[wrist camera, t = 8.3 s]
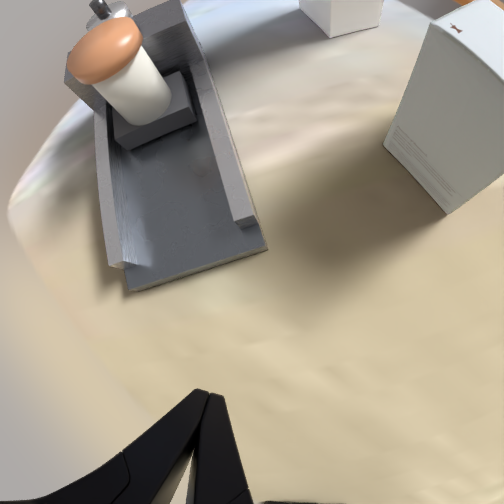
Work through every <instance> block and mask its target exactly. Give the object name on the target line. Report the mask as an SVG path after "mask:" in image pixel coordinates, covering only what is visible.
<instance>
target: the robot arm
mask: <svg viewBox="0 0 504 504" xmlns="http://www.w3.org/2000/svg"><path fill="white" fill-rule="evenodd" d="M193 450H194V451H193ZM192 453H193V456H192ZM191 456H192V461H191V468H190V475H189V483H188V491H187V498H186V504H254V503H253V500H252V497H251V493H250V490H249V489H248V484H247V480H246V477H245V473H244V470H243V466H242V463H241V459H240V456H239V452H238V448H237V445H236V441H235V437H234V433H233V430H232V426H231V422H230V418H229V414H228V410H227V406H226V402H225V398H224V396H222V395H219V394H215V393H210V394H209V392H208V391H205V390H201V389H198V388H197V389H194V390H193V391H192V392H191V393H190V394H189V395H188V396H186V397H185V398H184V399H183V400H182V401H181V402H179V403H178V404H177V405H176V406H175V407H174V408H173V409H171V410H170V411H169V412H168V413H167V414H166V415H164V416H163V417H162V418H161V419H160V420H158V421H157V422H156V423H155V424H154V425H153V426H151V427H150V428H149V429H148V430H147V431H145V432H144V433H143V434H142V435H141V436H139V437H138V438H137V439H136V440H134V441H133V442H132V443H131V444H129V445H128V446H127V447H126V448H124V449H123V450H122V452H119V453H118V454H117V455H115V456H114V457H113V458H112V459H110V460H109V461H108V462H106V463H105V464H103V465H102V466H101V467H99V468H98V469H96V470H94V471H93V472H91V473H89V474H88V475H86V476H84V477H82V478H80V479H78V480H77V481H75V482H73V483H71V484H69V485H67V486H65V487H63V488H61V489H59V490H57V491H55V492H53V493H51V494H49V495H47V496H44V497H41V498H37V499H31V500H20V501H0V504H170V502H171V500H172V498H173V495H174V493H175V491H176V489H177V487H178V485H179V483H180V481H181V478H182V476H183V474H184V472H185V470H186V468H187V466H188V463H189V461H190V459H191ZM264 504H316V503H286V502H273V501H268V502H266V503H264Z"/></svg>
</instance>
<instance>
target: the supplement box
mask: <svg viewBox="0 0 504 504" xmlns="http://www.w3.org/2000/svg"><path fill="white" fill-rule="evenodd" d="M383 146H384V147H385V148H386V149H387V150H388V151H389V152H390V153H391V154H392V155H393V156H394V157H395V158H396V159H397V160H398V161H399V162H400V163H401V164H402V165H403V166H404V167H405V168H406V169H407V170H408V171H409V172H410V174H411V175H412V176H413V177H414V178H415V179H416V180H417V181H418V182H419V183H420V184H421V186H422V187H423V188H424V189H425V190H426V191H427V192H428V193H429V195H430V196H431V197H432V198H433V199H434V200H435V201H436V203H437V204H438V205H439V206H440V207H441V208H442V209H443V210H444V212H445V213H446V214H450V213H452V212H453V211H455V210H456V209H458V208H459V207H460V206H462V205H463V204H465V203H466V202H467V201H469V200H470V199H471V198H473V197H474V196H475V195H477V194H478V193H479V192H481V191H482V190H483V189H485V188H486V187H487V186H489V185H490V184H491V183H492V182H494V181H495V180H496V179H497V178H499V177H500V176H501V175H503V174H504V11H503V10H502V9H501V8H499V7H498V6H497V5H495V4H494V3H493V2H491V1H490V0H475V1H473V2H471V3H469V4H467V5H465V6H462V7H460V8H458V9H456V10H455V11H452V12H451V13H449V14H447V15H445V16H443V17H441V18H439V19H437V20H435V21H432V22H431V23H430V25H429V27H428V30H427V33H426V36H425V39H424V42H423V44H422V47H421V50H420V53H419V56H418V58H417V61H416V64H415V66H414V69H413V72H412V74H411V77H410V80H409V82H408V85H407V87H406V90H405V92H404V95H403V97H402V100H401V102H400V105H399V107H398V110H397V112H396V115H395V117H394V119H393V122H392V124H391V126H390V129H389V131H388V133H387V136H386V138H385V140H384V142H383Z"/></svg>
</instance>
